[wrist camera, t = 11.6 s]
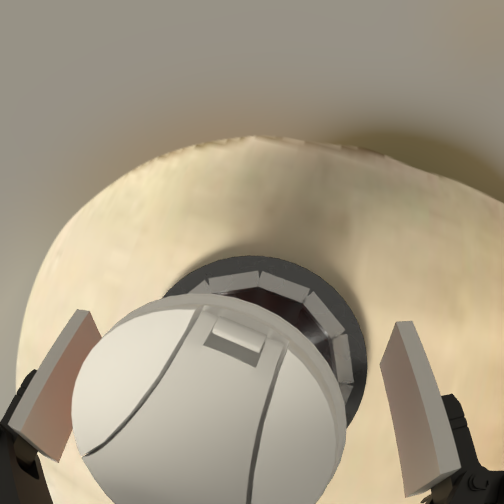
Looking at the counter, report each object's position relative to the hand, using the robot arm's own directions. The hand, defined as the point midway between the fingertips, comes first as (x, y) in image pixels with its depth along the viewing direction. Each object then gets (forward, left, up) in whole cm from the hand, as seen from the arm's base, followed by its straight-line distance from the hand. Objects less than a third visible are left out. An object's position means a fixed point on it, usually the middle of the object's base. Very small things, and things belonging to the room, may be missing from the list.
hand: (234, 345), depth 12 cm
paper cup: (-1, +2, -8) cm, 8 cm away
